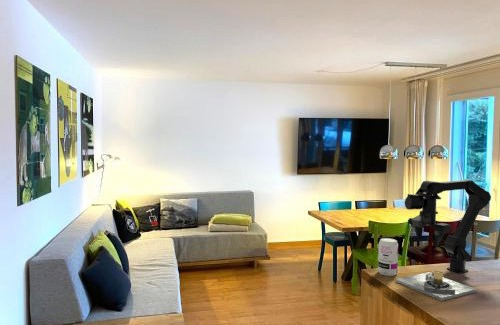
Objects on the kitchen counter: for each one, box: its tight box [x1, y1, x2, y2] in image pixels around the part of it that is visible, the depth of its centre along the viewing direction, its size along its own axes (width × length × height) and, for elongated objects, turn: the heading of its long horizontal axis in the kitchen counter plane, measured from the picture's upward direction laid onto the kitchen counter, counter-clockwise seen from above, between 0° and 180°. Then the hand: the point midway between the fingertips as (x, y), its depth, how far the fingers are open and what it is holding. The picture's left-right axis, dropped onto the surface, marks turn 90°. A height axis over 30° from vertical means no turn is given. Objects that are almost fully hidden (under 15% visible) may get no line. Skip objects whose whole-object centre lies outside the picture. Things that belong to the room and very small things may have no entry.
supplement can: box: [377, 237, 399, 277], centre depth 177 cm, size 8×8×15 cm
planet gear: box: [429, 270, 447, 288], centre depth 157 cm, size 6×6×6 cm
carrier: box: [395, 271, 478, 302], centre depth 161 cm, size 20×22×4 cm
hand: (427, 243), depth 179 cm, fingers open, 9 cm apart
